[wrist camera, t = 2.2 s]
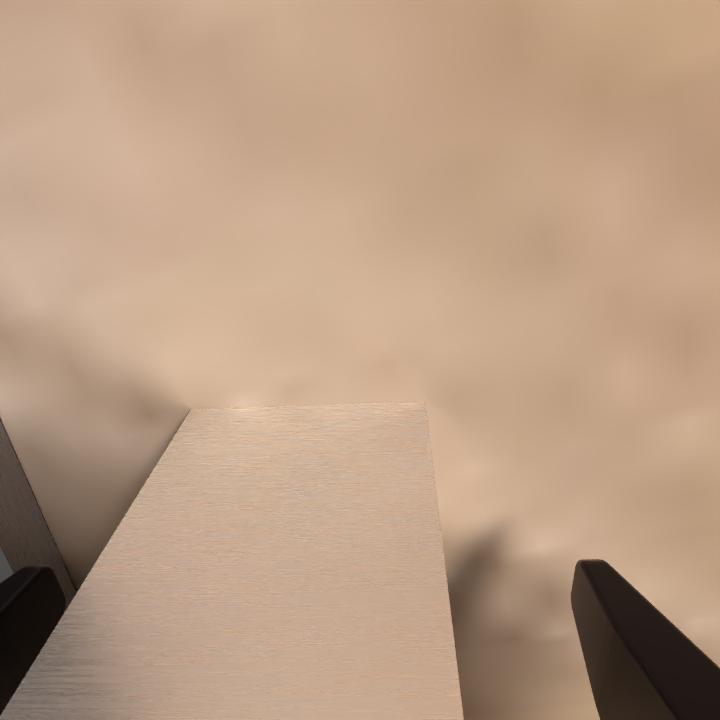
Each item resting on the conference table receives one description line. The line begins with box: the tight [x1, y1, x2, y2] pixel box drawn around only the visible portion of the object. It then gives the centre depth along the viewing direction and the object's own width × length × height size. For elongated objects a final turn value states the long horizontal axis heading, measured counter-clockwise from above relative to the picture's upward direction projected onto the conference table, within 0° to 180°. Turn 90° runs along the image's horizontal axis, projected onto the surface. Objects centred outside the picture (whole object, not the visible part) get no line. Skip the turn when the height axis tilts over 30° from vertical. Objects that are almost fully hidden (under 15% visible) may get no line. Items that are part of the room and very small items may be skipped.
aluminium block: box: [0, 402, 464, 720], centre depth 8 cm, size 4×4×7 cm
